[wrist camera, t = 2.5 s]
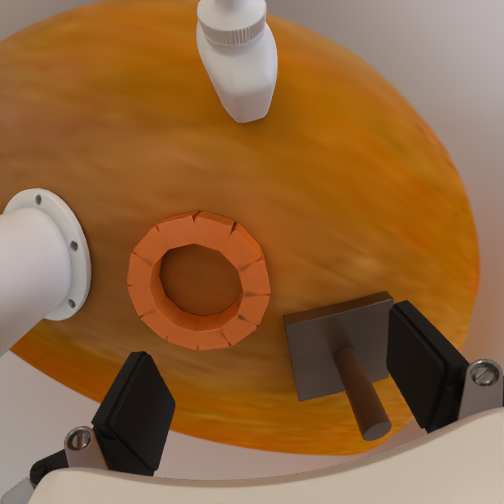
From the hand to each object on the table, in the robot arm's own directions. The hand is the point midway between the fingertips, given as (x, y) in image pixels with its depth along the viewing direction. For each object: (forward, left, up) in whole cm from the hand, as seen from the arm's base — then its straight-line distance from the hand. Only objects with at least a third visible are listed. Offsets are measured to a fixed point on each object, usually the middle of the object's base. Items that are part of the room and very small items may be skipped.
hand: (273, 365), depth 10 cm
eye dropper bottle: (+1, +13, -11) cm, 17 cm away
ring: (-5, 0, -11) cm, 12 cm away
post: (+5, -9, -11) cm, 15 cm away
